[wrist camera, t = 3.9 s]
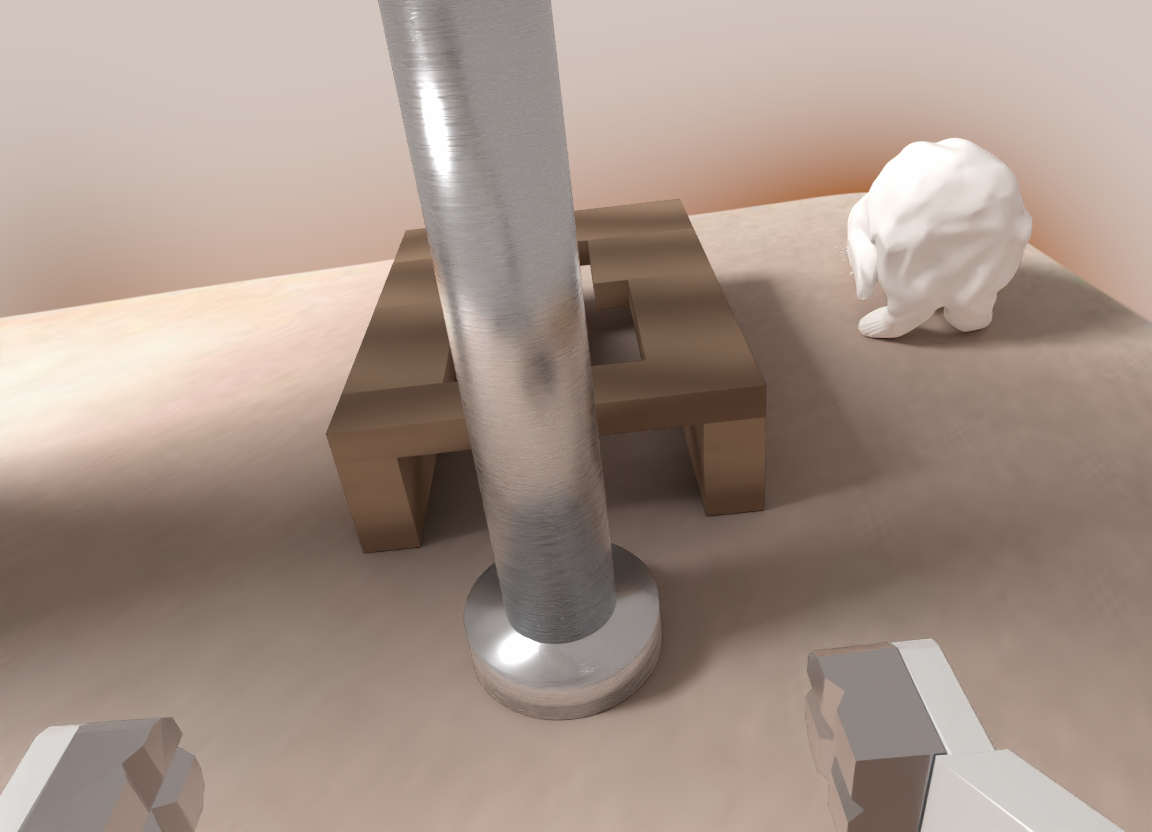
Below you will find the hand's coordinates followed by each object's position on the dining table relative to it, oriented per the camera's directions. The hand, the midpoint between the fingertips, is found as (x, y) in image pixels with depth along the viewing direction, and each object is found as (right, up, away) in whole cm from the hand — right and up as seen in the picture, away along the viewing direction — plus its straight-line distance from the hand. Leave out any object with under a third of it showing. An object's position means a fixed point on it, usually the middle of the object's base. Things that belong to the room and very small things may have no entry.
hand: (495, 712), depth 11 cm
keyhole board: (0, +5, +26) cm, 27 cm away
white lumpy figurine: (+17, +9, +31) cm, 36 cm away
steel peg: (+1, -3, +14) cm, 14 cm away
